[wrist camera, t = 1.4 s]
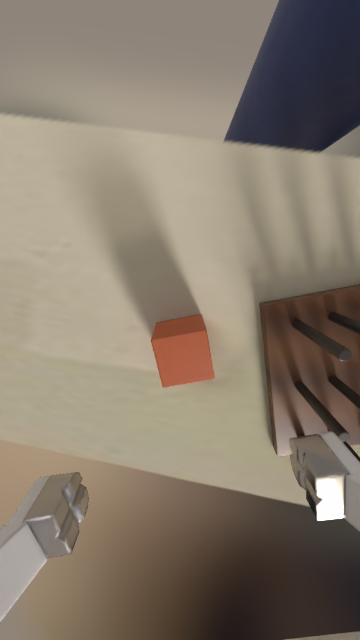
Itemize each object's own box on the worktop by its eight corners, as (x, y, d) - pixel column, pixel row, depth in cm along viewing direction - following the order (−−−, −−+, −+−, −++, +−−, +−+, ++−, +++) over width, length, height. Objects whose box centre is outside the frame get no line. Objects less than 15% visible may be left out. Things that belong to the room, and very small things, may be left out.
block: (156, 322, 20) (150, 340, 16) (201, 314, 20) (206, 329, 16) (166, 362, 21) (162, 388, 17) (208, 355, 21) (214, 379, 17)
